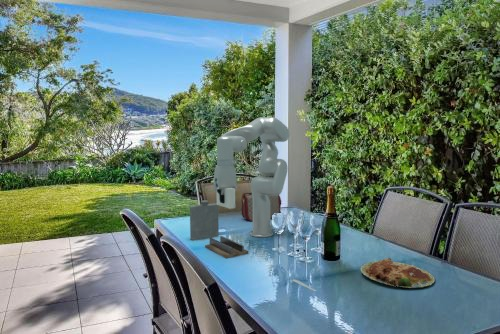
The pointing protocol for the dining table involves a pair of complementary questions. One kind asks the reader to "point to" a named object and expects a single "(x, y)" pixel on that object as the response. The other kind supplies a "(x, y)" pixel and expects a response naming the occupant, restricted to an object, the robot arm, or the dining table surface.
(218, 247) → the track
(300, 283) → the butter knife
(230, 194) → the door panel
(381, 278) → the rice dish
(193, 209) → the hip flask
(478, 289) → the dining table surface
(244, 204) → the handbag
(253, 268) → the dining table surface
